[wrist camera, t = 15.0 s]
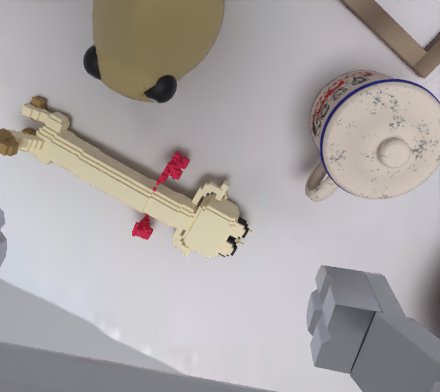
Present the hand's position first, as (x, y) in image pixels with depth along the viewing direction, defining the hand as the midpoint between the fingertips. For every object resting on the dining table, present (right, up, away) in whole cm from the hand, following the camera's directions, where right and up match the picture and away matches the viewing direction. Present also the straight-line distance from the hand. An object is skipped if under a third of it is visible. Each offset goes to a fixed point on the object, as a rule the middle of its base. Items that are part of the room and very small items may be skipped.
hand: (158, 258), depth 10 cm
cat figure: (-6, +4, +31) cm, 32 cm away
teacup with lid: (+14, +8, +27) cm, 32 cm away
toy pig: (-3, +17, +25) cm, 31 cm away
